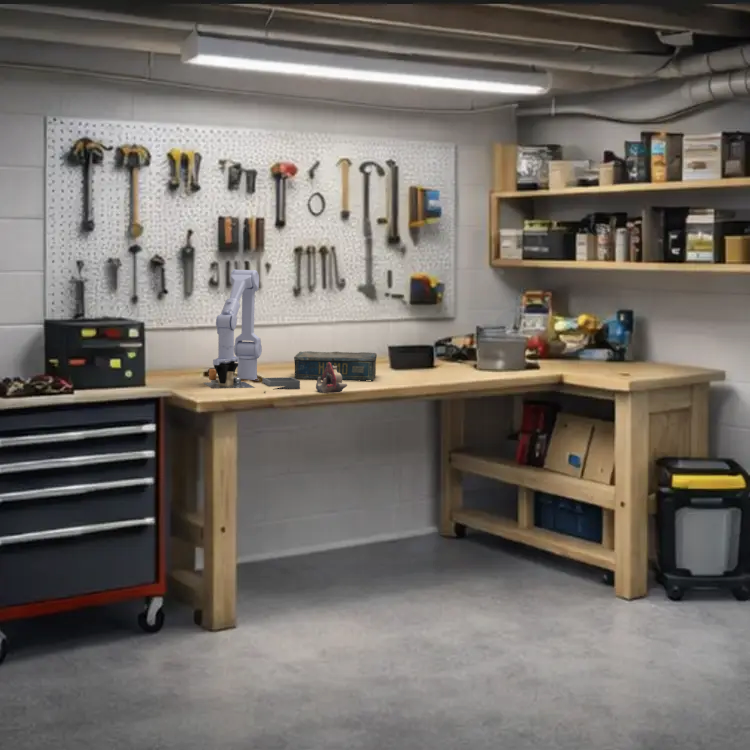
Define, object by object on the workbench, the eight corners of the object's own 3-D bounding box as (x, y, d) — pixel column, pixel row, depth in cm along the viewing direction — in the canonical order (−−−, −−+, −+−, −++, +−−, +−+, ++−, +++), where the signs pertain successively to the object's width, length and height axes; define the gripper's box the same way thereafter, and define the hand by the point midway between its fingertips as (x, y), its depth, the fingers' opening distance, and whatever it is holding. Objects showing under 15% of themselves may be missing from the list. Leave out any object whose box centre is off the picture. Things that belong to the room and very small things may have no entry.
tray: (262, 385, 452) (262, 377, 451) (291, 384, 455) (291, 377, 455) (269, 389, 441) (269, 381, 440) (299, 388, 445) (299, 380, 444)
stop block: (224, 384, 445) (224, 370, 444) (233, 384, 443) (233, 371, 442) (218, 385, 441) (218, 371, 440) (227, 386, 439) (227, 372, 439)
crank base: (202, 385, 448) (202, 381, 448) (244, 384, 454) (244, 381, 453) (212, 391, 431) (212, 388, 431) (255, 390, 437) (255, 387, 436)
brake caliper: (306, 384, 440) (324, 358, 442) (326, 400, 445) (344, 374, 447) (319, 387, 430) (337, 361, 432) (340, 404, 435) (358, 378, 437)
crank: (239, 381, 451) (239, 368, 450) (241, 382, 447) (241, 369, 447) (208, 382, 447) (208, 368, 446) (210, 383, 443) (210, 369, 443)
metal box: (374, 382, 471) (374, 357, 470) (293, 380, 472) (293, 355, 471) (376, 376, 492) (377, 352, 491) (299, 374, 493) (299, 350, 492)
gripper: (224, 348, 432) (224, 385, 434) (245, 345, 445) (245, 381, 447) (208, 347, 435) (208, 384, 437) (229, 344, 448) (229, 380, 450)
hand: (225, 382), depth 442 cm, fingers closed on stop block, 4 cm apart
